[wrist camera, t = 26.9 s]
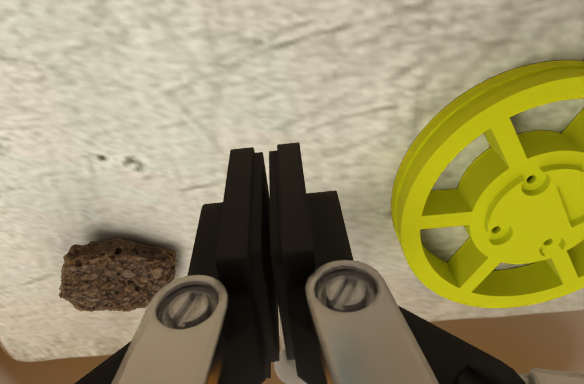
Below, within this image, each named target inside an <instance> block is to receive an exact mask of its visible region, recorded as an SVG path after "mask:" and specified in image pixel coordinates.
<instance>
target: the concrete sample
mask: <svg viewBox="0 0 584 384" xmlns="http://www.w3.org/2000/svg"><path fill="white" fill-rule="evenodd" d="M174 258H175V252H174V251H169V250H165V249H163V248H161V247H159V246H146V245H144V244H138V243H135V242H132V241H129V240H122V239H120V238H116V239H112V240H107V241H106V242H104V241H103V242H93V241H91V242H90V243H89V244H88V245H83V246H81V245H73V246H71V248H70V250H69V252H68V253H67V254H66V255H65V256H64V262H65V264H63V267H62V270H61V272H62V275H61V278H62V279H61V281H62V283H61V286H60V288H59V289H60V290H61V291H60V292H61V293H60V294H59V296H60V298H64V299H65V300H67V301H69V302H70V303H72V304H73V305H74V307H75V308H76V309H77V310H79V311H91V312H92V311H101V310H110V311H112V310H113V311H116V310H117V311H121V310H122V311H123V312H125V311H131V310H135V309H136V308H146V307H148V305H149V303H150V302H151V300H152V299H153V297H154V296H155V294H156V293H157V292H158V291H159V290H161V289H162V288H163V287H164V286H165V285H167V284H169V283H171V282H172V281H173V280H174V275H175V266H176V263H177V260H175V259H174Z"/></svg>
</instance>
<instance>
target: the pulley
mask: <svg viewBox="0 0 584 384" xmlns="http://www.w3.org/2000/svg"><path fill="white" fill-rule="evenodd" d="M580 98H584V61H575V60H559V61H548V62H541V63H535V64H530V65H527V66H523V67H519V68H516V69H513V70H510V71H507V72H504V73H502V74H499V75H497V76H495V77H492V78H490V79H488V80H486V81H484V82H482V83H480V84H478V85H477V86H475V87H473V88H472V89H470V90H468V91H467V92H465V93H464V94H462V95H461V96H459V97H458V98H457V99H455V100H454V101H453V102H451V103H450V104H449V105H447V106H446V107H445V108H444V109H443V110H442V111H440V112H439V113H438V114H437V115H436V116H435V117H434V118H433V119H432V120H431V121H430V122H429V123H428V124H427V125H426V127H425V128H424V129H423V130H422V131H421V133H420V134H419V135H418V136H417V138H416V139H415V141H414V142H413V143H412V145H411V147H410V148H409V150H408V151H407V153H406V155H405V157H404V159H403V161H402V163H401V165H400V167H399V170H398V172H397V175H396V178H395V182H394V186H393V191H392V199H391V213H392V220H393V225H394V228H395V232H396V234H397V237H398V239H399V242H400V244H401V247H402V250H403V252H404V255H405V257H406V260H407V262H408V264H409V266H410V268H411V269H412V271H413V272H414V274H415V275H416V276H417V278H418V279H419V280H420V281H421V282H422V283H423V284H424V285H425V286H427V287H428V288H429V289H431V290H432V291H433V292H435V293H437V294H438V295H440V296H442V297H444V298H447V299H449V300H451V301H454V302H457V303H461V304H465V305H469V306H475V307H484V308H511V307H520V306H527V305H532V304H537V303H541V302H545V301H549V300H552V299H555V298H558V297H561V296H564V295H567V294H569V293H572V292H574V291H577V290H579V289H581V288H583V287H584V108H583V110H582V111H581V112H580V113H579V114H578V115H577V116H576V118H575V119H574V120H573V121H572V122H571V123H570V124H569V125H568V127H567V128H566V129H565V130H564V131H563V132H562V133H558V132H554V131H530V132H524V133H520V134H516V132H515V129H514V127H513V125H512V122H511V120H510V117H512V116H514V115H516V114H518V113H521V112H523V111H526V110H528V109H531V108H534V107H537V106H540V105H544V104H548V103H552V102H556V101H562V100H569V99H580ZM482 133H484V134H485V136H486V138H487V140H488V142H489V145H490V148H489V149H487V150H486V151H484V152H483V153H482V154H481V155H480V156H479V157H477V158H476V159H475V160H474V162H473V163H472V164H471V165H470V166H469V167H468V169H467V170H466V172H465V173H464V175H463V176H462V178H461V180H460V182H459V185H458V188H457V189H446V190H435V191H431V189H432V187H433V186H434V184H435V182H436V180H437V179H438V177H439V176H440V175H441V173H442V172H443V171H444V169H445V168H446V167H447V165H448V164H449V163H450V162H451V161H452V160H453V159H454V158H455V157H456V156H457V154H458V153H459V152H461V151H462V150H463V149H464V148H465V147H466V146H467V145H468V144H470V143H471V142H472V141H473V140H474V139H476V138H477V137H478V136H480V135H481V134H482ZM453 226H464V228H465V229H466V231H467V233H468V234H469V236H470V237H469V238H468V240H467V241H466V242H465V243H464V244H463V245H462V246H461V247H460V249H459V250H458V251H457V252H456V253H455V254H454V255H453V257H452V258H451V259H450V260H449V261H448V262H447V263H446V262H444V261H442V260H441V259H439V258H437V257H436V256H434V255H433V254H432V253H430V252H429V251H428V250H427V249H426V248H425V247H424V246H423V244H422V243H421V238H420V229H430V228H441V227H453ZM500 262H502V263H508V264H527V263H532V264H529V265H526V266H522V267H518V268H512V269H506V270H497V271H493V270H494V269H495V268H496V266H497V265H498V264H499V263H500ZM534 262H535V263H534Z"/></svg>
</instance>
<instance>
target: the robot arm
mask: <svg viewBox="0 0 584 384" xmlns="http://www.w3.org/2000/svg"><path fill="white" fill-rule="evenodd" d="M277 150H278V151H269V179H270V198H269V191H268V184H267V177H266V171H265V164H264V157H263V153H262V152H259V153H255V152H254V148H253V147H251V148H242V149H232V150H231V151H230V158H229V165H228V172H227V179H226V186H225V193H224V200H223V202H221V203H212V204H204V205H203V206H202V209H201V214H200V219H199V224H198V228H197V233H196V238H195V243H194V248H193V253H192V257H191V262H190V267H189V272H188V276H186V277H183V278H179V279H176V280H174V281H172V282H171V283H169V284H167V285H165V286H164V287H163V288H162V289H161V290H159V291H158V292H157V293H156V294H155V296H154V297H153V299H152V300H151V302H150V303H149V305H148V307H147V309H146V312H145V314H144V316H143V318H142V320H141V322H140V324H139V326H138V329H137V331H136V333H135V335H134V337H133V339H132V341H131V342H129V343H128V344H127V345H125V346H124V347H123V348H121V349H120V350H119V351H117V352H116V353H115V354H113V355H112V356H111V357H109V358H108V359H107V360H105V361H104V362H103V363H102V364H100V365H99V366H98V367H96V368H95V369H93V370H92V371H91V372H89V373H88V374H87V375H85V376H84V377H83V378H81V379H80V380H79V381H77V382H76V383H75V384H262V382H264V381H265V379H266V378H270V377H271V362H276V361H279V360H280V352H279V318H278V306H279V313H280V319H281V325H282V331H283V338H284V344H285V350H286V356H287V360H295V364H296V371H297V376H298V377H299V378H300V379H302V380H303V381H304V382H306V383H307V384H584V374H581V373H572V372H562V371H553V370H544V369H535V368H531V371H530V373H529V374H522V373H516V372H515V370H514V369H512V368H511V367H509V366H508V365H506V364H504V363H503V362H502V361H500V360H498V359H496V358H495V357H493V356H491V355H489V354H487V353H485V352H483V351H482V350H480V349H478V348H476V347H474V346H472V345H471V344H469V343H467V342H465V341H463V340H461V339H459V338H457V337H456V336H454V335H452V334H450V333H448V332H446V331H444V330H442V329H441V328H439V327H437V326H435V325H433V324H431V323H430V322H428V321H426V320H424V319H422V318H420V317H418V316H416V315H415V314H413V313H411V312H409V311H407V310H405V309H403V308H402V307H400V306H398V305H397V303H396V301H395V299H394V297H393V296H392V294H391V292H390V290H389V288H388V286H387V284H386V282H385V280H384V279H383V278H382V276H381V275H380V274H379V272H378V271H377V270H375V269H374V268H372V267H371V266H369V265H367V264H364V263H361V262H359V261H353V257H352V253H351V248H350V244H349V240H348V236H347V232H346V228H345V224H344V219H343V215H342V211H341V207H340V203H339V199H338V195H337V191H327V192H317V193H308V194H306V189H305V182H304V174H303V167H302V159H301V152H300V145H299V143H289V144H280V145H277Z"/></svg>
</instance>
